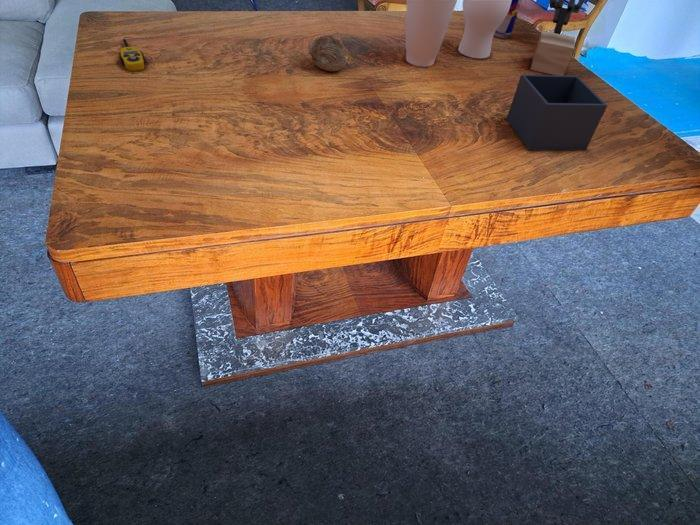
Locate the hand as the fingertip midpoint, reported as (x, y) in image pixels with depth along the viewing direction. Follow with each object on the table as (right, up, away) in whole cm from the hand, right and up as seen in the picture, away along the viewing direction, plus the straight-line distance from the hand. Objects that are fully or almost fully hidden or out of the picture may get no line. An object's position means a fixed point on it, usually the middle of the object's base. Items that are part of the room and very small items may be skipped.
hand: (556, 35), depth 130 cm
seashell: (-58, -13, -13) cm, 61 cm away
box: (-13, -32, -26) cm, 43 cm away
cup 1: (-36, -9, -5) cm, 37 cm away
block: (-3, -9, -1) cm, 9 cm away
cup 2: (-21, -4, +2) cm, 21 cm away
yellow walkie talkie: (-101, -13, -18) cm, 103 cm away
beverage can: (-11, +5, +12) cm, 17 cm away
